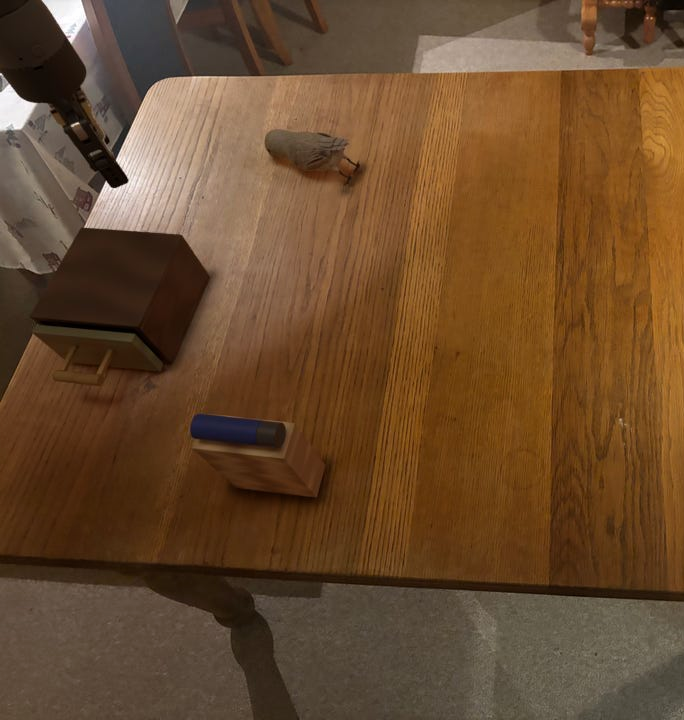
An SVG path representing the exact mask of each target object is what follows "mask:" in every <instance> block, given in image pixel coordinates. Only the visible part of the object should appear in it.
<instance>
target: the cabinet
mask: <svg viewBox="0 0 684 720" xmlns="http://www.w3.org/2000/svg"><path fill="white" fill-rule="evenodd" d="M210 278H211V276H210V274H209V273H208V270H206V268H205V267H204V265H203V264H202V261H201V260H200V259H199V258H198V256H197V255H196V254H195V252H194V250H193V249H192V247H191V245H190V244H189V243H188V242H187V240H186V238H185V236H183V234H180V233H167V232H166V233H165V232H154V231H139V230H125V229H124V230H123V229H111V228H97V227H80V229H79V230H78V232H77V234H76V236H75V237H74V238H73V241H72V242H71V243H70V246H69V247H68V249H67V251H66V252H65V255H64V256H63V257H62V259H61V261H60V263H59V265H58V266H57V268H56V269H55V271H54V273H53V275H52V277H51V278H50V280H49V281H48V283H47V285H46V286H45V288H44V290H43V291H42V294H41V295H40V297H39V299H38V300H37V302H36V304H35V306H34V308H32V310H31V313H30V314H29V315H28V316H29V318H30V319H31V320H33V321H34V322H35V323H36V325H45V326H56V327H58V326H57V325H56V324H54V323H53V322H61V323H72V324H83V325H94V326H105V327H116V328H127V329H136V331H137V332H138V333H139V334H140V335H141V336H142V337H143V338H144V339H145V340H146V341H147V342H148V343H149V345H150V346H151V347H152V348H153V349H154V350H155V351H156V352H157V353H154V354H155V355H156V356H157V357H158V358H159V360H160V361H161V362H162V363H163V364H168V365H173V364H174V362H175V359H176V356H177V354H178V352H179V350H180V348H181V346H182V343H183V341H184V338H185V336H186V335H187V331H188V330H189V327H190V324H191V322H192V320H193V318H194V315H195V313H196V312H197V311H196V310H197V308H198V306H199V304H200V302H201V299H202V297H203V295H204V293H205V290H206V287H207V286H208V283H209V281H210Z"/></svg>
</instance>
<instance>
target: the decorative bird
mask: <svg viewBox="0 0 684 720" xmlns="http://www.w3.org/2000/svg"><path fill="white" fill-rule="evenodd" d="M349 140H350V139H349V138H345V137H339V136H332V135H330V134H328V133H325V132H312V131H311V132H310V131H290V130H286V129H282V128H275V129H271V130H269V131H268V132H267V133H266V134H265V137H264V148H265V150H266V151H267V153H268V155H269V156H270V157H272V158H274V159H276V158H279V157H281V158H284V159H286V160H287V162H290V163H291V164H293V165H294V166H295V167H297V168H298V169H299V170H301V171H304V172H311V171H335V172H336V173H339V174H340V175H341V176H342V177H344V178H346V179H347V180H346V181H345V184H344V185H345V186H344V187H345V188H347V185H350V183H349V182H350V181H351V180H352V176H351V174H352V172H349V174H348V175H346V174H344V173H343V172H342V171H341V170H340V169H339V168H338V167H339V166H340V165H341V163H342V160H343V159H344V160H347V161H348V163H349V164H351V165H353V166H355V168H354V170H353V176H355V174H356V173H358V170H359V169H360V168H361V164H360V160H358V161H357V162H356V163H355V162H353V161H352V160H351V159H350V158H349V157H348V156H347V155H346V154H344V152H345V150H346V147H347V146H349V145H350V142H349Z"/></svg>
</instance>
